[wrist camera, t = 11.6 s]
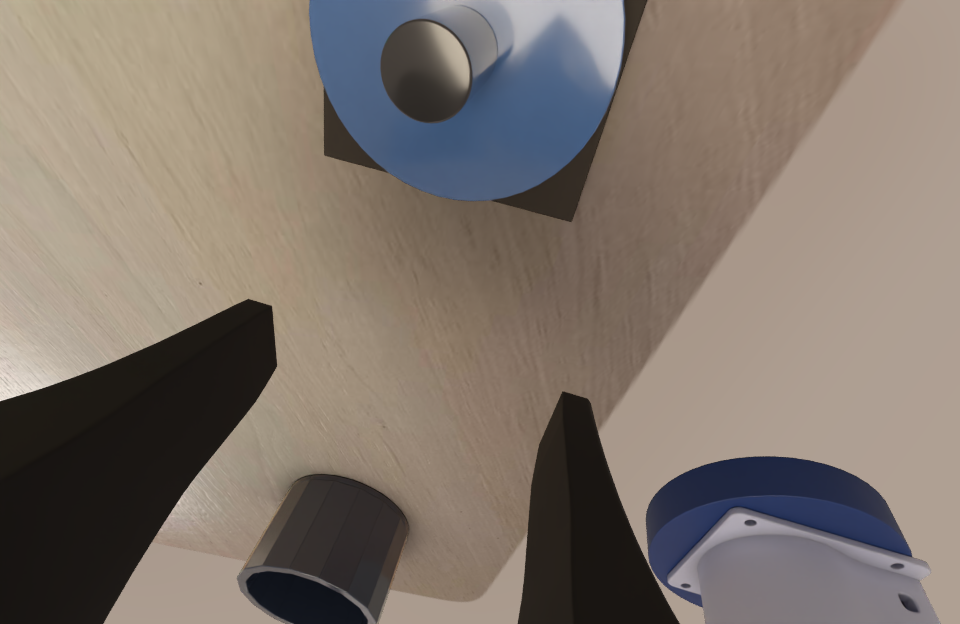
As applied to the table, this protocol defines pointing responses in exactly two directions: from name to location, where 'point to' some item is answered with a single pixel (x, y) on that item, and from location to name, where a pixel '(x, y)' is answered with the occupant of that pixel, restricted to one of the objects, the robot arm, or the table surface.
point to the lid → (469, 85)
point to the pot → (326, 554)
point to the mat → (545, 198)
